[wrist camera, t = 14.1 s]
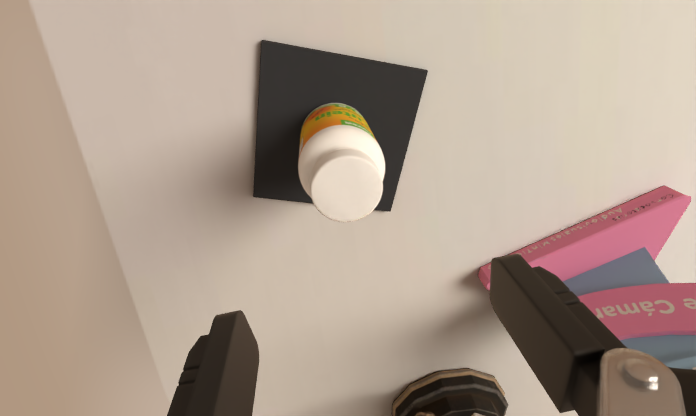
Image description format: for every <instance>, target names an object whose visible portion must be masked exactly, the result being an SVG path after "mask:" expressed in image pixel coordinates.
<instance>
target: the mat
mask: <svg viewBox="0 0 696 416" xmlns="http://www.w3.org/2000/svg"><path fill="white" fill-rule="evenodd" d="M427 72H428V71H427V70H424V69H418V68H413V67H407V66H402V65H397V64H391V63H386V62H380V61H375V60H369V59H364V58H358V57H353V56H347V55H342V54H337V53H331V52H326V51H320V50H315V49H309V48H304V47H298V46H293V45H288V44H282V43H277V42H271V41H266V40H262V41H261V58H260V77H259V97H258V116H257V135H256V155H255V174H254V193H253V197H258V198H268V199H277V200H287V201H296V202H305V203H313V201H312V198H311V197H310V196H309V195H308V194H307V193H306V191H305V190H304V188H303V186H302V184H301V181H300V178H299V172H298V161H299V149H300V135H301V129H302V126H303V123H304V121H305V119H306V118H307V116H308V115H309V114H310V113H311V112H312V111H313V110H315V109H316V108H318V107H320V106H322V105H325V104H329V103H341V104H345V105H348V106H350V107H352V108H354V109H355V110H357V111H358V112H359V113H360V114H361V115H362V116H363V118H364V119H365V121H366V122H367V124H368V126H369V128H370V130H371V132H372V133H373V135H374V137H375V139H376V141H377V142H378V144H379V146H380V148H381V150H382V153H383V156H384V160H385V175H384V179H383V192H382V196H381V199H380V201H379V203H378V205H377V206H376V208H375V209H374V210H381V211H391V208H392V204H393V200H394V196H395V193H396V189H397V185H398V181H399V177H400V174H401V170H402V166H403V162H404V159H405V155H406V151H407V147H408V144H409V140H410V136H411V132H412V128H413V125H414V121H415V117H416V113H417V110H418V106H419V102H420V98H421V95H422V91H423V87H424V83H425V79H426V76H427Z"/></svg>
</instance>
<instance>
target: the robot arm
mask: <svg viewBox="0 0 696 416" xmlns="http://www.w3.org/2000/svg"><path fill="white" fill-rule="evenodd" d="M490 300H491V303H492V306H493V309H494V311H495V313H496V314H497V316H498V318H499V319H500V321H501V322H502V324H503V325H504V327H505V328H506V330H507V331H508V333H509V335H510V336H511V338H512V339H513V341H514V342H515V344H516V345H517V347H518V349H519V350H520V352H521V353H522V355H523V356H524V358H525V359H526V361H527V363H528V364H529V366H530V367H531V369H532V370H533V372H534V373H535V375H536V377H537V378H538V380H539V381H540V383H541V384H542V386H543V387H544V389H545V390H546V392H547V394H548V395H549V397H550V398H551V400H552V401H553V403H554V404H555V406H556V408H557V409H558V411H559V412H560V413H562V412H567V411H572V410H575V411H576V412H577V414H578V415H579V416H696V370H692V369H680V368H672V367H667V366H666V365H665V364H663V363H662V362H661V361H659V360H658V359H656V358H654V357H653V356H651V355H649V354H646V353H644V352H641V351H638V350H634V349H630V348H627V347H626V346H625V345H624V344H623V343H622V342H621V341H620V340H619V339H618V338H617V337H616V336H615V335H614V334H613V333H612V332H611V331H610V330H609V329H608V328H607V327H606V326H605V325H604V324H603V323H602V322H601V321H600V320H599V319H598V318H597V317H596V316H595V315H594V314H593V312H592V311H591V310H590V309H589V308H588V307H587V306H586V305H585V304H584V303H583V302H580V299H579V298H578V297H577V296H576V295H575V294H574V293H573V292H572V291H570V290H569V288H568V287H567V286H566V285H565V284H564V283H563V282H562V281H561V280H560V279H559V278H558V276H556V275H555V274H553V273H551V272H549V271H547V270H546V269H544V268H542V267H540V266H537V267H533V268H532V267H531V266H530V265H529V264H528V263H527V262H526V260H525V259H524V258H523V257H522V256H521V255H519V254H511V255H506V256H502V257H497V258H493V259H492V261H491V274H490ZM258 366H259V349H258V345H257V341H256V339H255V337H254V335H253V333H252V330H251V328H250V326H249V324H248V322H247V320H246V317H245V315H244V313H243V312H242V311H241V310H239V311H234V312H230V313H225V314H220V315H216V316H215V318H214V320H213V323H212V326H211V330H210V333H209V334H208V335H204V336H200V338H199V339H198V340H197V342H196V343H195V345H194V346H193V347H192V349H191V350H190V351H189V353H188V356H187V359H186V362H185V365H184V368H183V370H184V371H183V372H182V374H181V377H180V380H179V386H177V388H176V391H175V394H174V397H173V400H172V403H171V406H170V409H169V412H168V414H167V416H252V411H253V404H254V396H255V388H256V381H257V373H258Z"/></svg>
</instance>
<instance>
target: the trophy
mask: <svg viewBox="0 0 696 416" xmlns="http://www.w3.org/2000/svg"><path fill="white" fill-rule="evenodd" d="M690 202H691V196H687V195H684V194H682V193H679V192H677V191H675V190H673V189H671V188H669V187H667V186H662V187H660V188H657V189H655V190H653V191H651V192H648V193H646V194H644V195H642V196H639V197H637V198H635V199H633V200H630V201H628V202H626V203H624V204H621V205H619V206H617V207H615V208H612V209H610V210H608V211H606V212H603V213H601V214H599V215H597V216H594V217H592V218H590V219H588V220H585V221H583V222H581V223H579V224H576V225H574V226H572V227H570V228H567V229H565V230H563V231H561V232H558V233H556V234H554V235H552V236H549V237H547V238H545V239H543V240H540V241H538V242H536V243H534V244H531V245H529V246H527V247H525V248H522V249H520V250H518V251H516V252H513V253H511V254H519V255H521V256H522V257H523V258H524V259H525V260H526V262H527V263H528V264H529V265H530V266H531V267H532V268H533V267H537V266H540V267H542V268H544V269H546V270H547V271H549V272H551V273H553V274H555V275H556V276H558V278H559V279H560V280H561V281H562V282H563V283H564V284H565V285H566V286H567V287H568V288H569V290H570V291H572V292H573V293H574V294H575V295H576V296H577V297H578V298H579V299H580V302H583V303H584V304H585V305H586V306H587V307H588V308H589V309H590V310H591V311H592V312H593V314H594V315H595V316H596V317H597V318H598V319H599V320H600V321H601V322H602V323H603V324H604V325H605V326H606V327H607V328H608V329H609V330H610V331H611V332H612V333H613V334H614V335H615V336H616V337H617V338H618V339H619V340H620V341H621V342H622V343H623V344H624V345H625V346H626V347H627V348H630V349H634V350H638V351H641V352H644V353H646V354H649V355H651V356H653V357H654V358H656V359H658V360H659V361H661V362H662V363H663V364H665V365H666V366H667V367H672V368H680V369H692V370H696V283H669V281H668V280H667V279H666V277H665V276H664V274H663V273H662V272H661V270H660V269H659V267H658V266H657V265H656V263H655V261H654V260H655V259H656V257H657V255H658V254H659V252H660V251H661V249H662V247H663V246H664V244H665V242H666V241H667V239H668V238H669V236H670V234H671V233H672V231H673V230H674V228H675V226H676V225H677V223H678V221H679V220H680V218H681V217H682V215H683V213H684V212H685V210H686V209H687V207H688V205H689V204H690ZM511 254H509V255H511ZM490 274H491V263H489V264H486V265H484V266H482V267H480V271H479V274H478V277H479V279H480V280H481V282H482V283H483V285H484V286H485V288H486V289H487V290H489V291H490Z"/></svg>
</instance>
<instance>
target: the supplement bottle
mask: <svg viewBox="0 0 696 416" xmlns="http://www.w3.org/2000/svg"><path fill="white" fill-rule="evenodd" d="M298 172H299V178H300V181H301V184H302V186H303V188H304V190H305V191H306V193H307V194H308V195H309V196H310V197H311V198H312V201H313V203H314V205H315V207H316V208H317V209H318V211H319V212H320V213H322V214H323V215H324V216H326V217H327V218H329V219H332V220H335V221H340V222H350V221H356V220H358V219H361V218H363V217H365V216H367V215H368V214H370V213H371V212H372V211H373V210H374V209H375V208H376V206H377V205H378V203H379V201H380V199H381V196H382V192H383V179H384V175H385V160H384V156H383V153H382V150H381V148H380V146H379V144H378V142H377V141H376V139H375V137H374V135H373V133H372V132H371V130H370V128H369V126H368V124H367V122H366V121H365V119H364V118H363V116H362V115H361V114H360V113H359V112H358V111H357V110H355V109H354V108H352V107H350V106H348V105H345V104H341V103H329V104H325V105H322V106H320V107H318V108H316V109H315V110H313V111H312V112H311V113H310V114H309V115H308V116H307V118H306V119H305V121H304V123H303V126H302V129H301V135H300V149H299V161H298Z"/></svg>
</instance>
